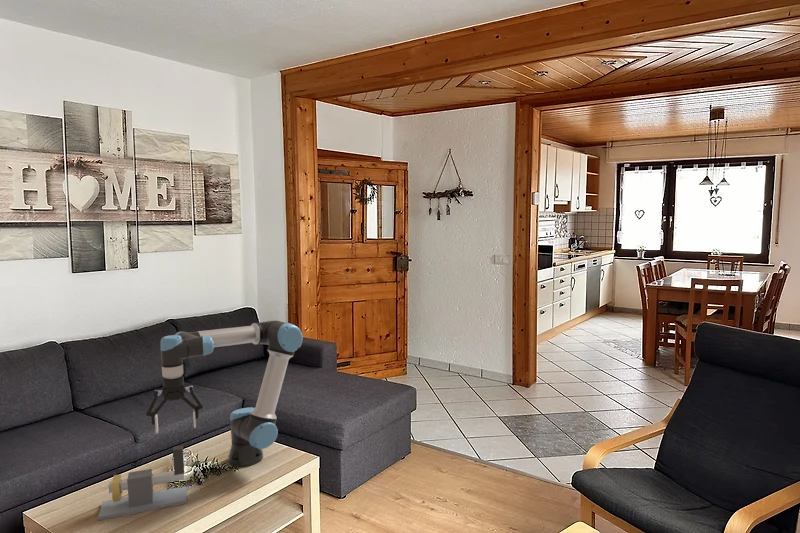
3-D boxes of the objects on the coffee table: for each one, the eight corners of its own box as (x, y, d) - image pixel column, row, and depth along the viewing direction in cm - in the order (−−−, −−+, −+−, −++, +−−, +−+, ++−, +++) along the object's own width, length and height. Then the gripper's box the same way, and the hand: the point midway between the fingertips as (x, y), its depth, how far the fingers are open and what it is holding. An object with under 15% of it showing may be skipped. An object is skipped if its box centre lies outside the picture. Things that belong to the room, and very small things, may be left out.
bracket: (186, 488, 221) (184, 460, 220) (186, 503, 210) (184, 472, 209) (103, 504, 210) (100, 474, 209) (98, 520, 199) (95, 488, 198)
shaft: (184, 475, 216) (182, 445, 215) (184, 479, 213) (182, 448, 212) (110, 489, 207) (107, 457, 206) (109, 493, 204) (106, 461, 202)
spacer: (122, 492, 210) (121, 474, 209) (120, 501, 203) (118, 482, 203) (115, 493, 209) (113, 475, 209) (112, 502, 202) (111, 483, 202)
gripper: (207, 369, 218) (209, 421, 220) (138, 377, 209) (141, 431, 211) (207, 374, 211) (210, 427, 213) (136, 382, 202) (139, 438, 204)
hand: (176, 429), depth 212 cm, fingers open, 13 cm apart
